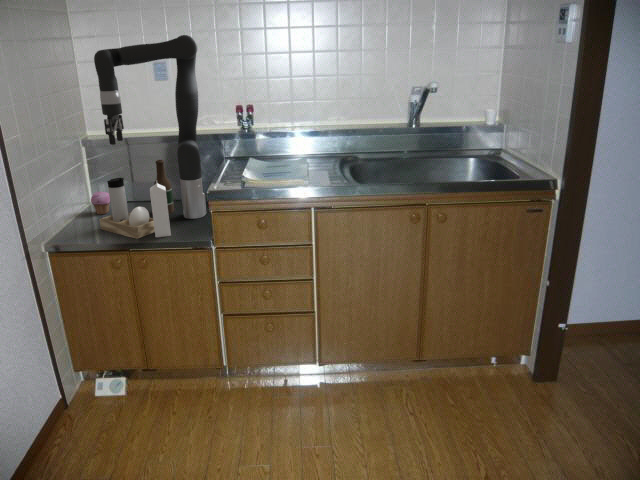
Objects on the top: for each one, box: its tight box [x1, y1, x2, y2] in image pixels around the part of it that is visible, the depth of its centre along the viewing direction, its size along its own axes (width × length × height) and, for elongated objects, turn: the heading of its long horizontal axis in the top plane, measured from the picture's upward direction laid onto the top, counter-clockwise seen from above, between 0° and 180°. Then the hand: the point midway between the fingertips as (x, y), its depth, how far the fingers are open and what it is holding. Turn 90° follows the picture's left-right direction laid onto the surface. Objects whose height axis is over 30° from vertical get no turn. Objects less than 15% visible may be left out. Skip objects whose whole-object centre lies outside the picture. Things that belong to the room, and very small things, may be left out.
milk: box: [149, 183, 172, 238], centre depth 216 cm, size 6×6×22 cm
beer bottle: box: [153, 159, 175, 215], centre depth 243 cm, size 8×8×24 cm
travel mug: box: [106, 177, 129, 223], centre depth 225 cm, size 6×7×20 cm
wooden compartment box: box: [98, 212, 155, 240], centre depth 225 cm, size 12×22×4 cm, turn 58°
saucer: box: [129, 206, 150, 227], centre depth 221 cm, size 10×1×10 cm, turn 148°
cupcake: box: [90, 191, 111, 215], centre depth 246 cm, size 9×9×10 cm
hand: (116, 142), depth 224 cm, fingers open, 8 cm apart
